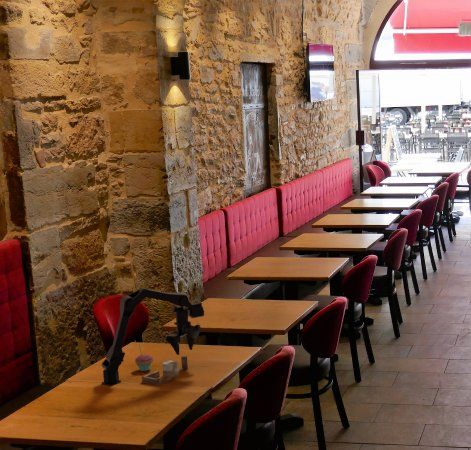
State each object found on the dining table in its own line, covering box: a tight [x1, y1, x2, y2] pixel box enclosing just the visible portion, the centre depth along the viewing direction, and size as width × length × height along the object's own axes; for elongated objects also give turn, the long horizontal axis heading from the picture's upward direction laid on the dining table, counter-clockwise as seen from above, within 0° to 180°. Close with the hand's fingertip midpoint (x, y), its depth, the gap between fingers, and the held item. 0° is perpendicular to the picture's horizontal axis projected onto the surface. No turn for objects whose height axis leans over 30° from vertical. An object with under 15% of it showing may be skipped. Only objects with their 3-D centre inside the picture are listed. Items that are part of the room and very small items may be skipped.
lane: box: [141, 370, 174, 386], centre depth 393 cm, size 10×9×2 cm
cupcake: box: [134, 345, 154, 372], centre depth 410 cm, size 9×8×12 cm
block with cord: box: [161, 355, 189, 377], centre depth 403 cm, size 14×5×6 cm, turn 143°
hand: (184, 352), depth 407 cm, fingers open, 9 cm apart
